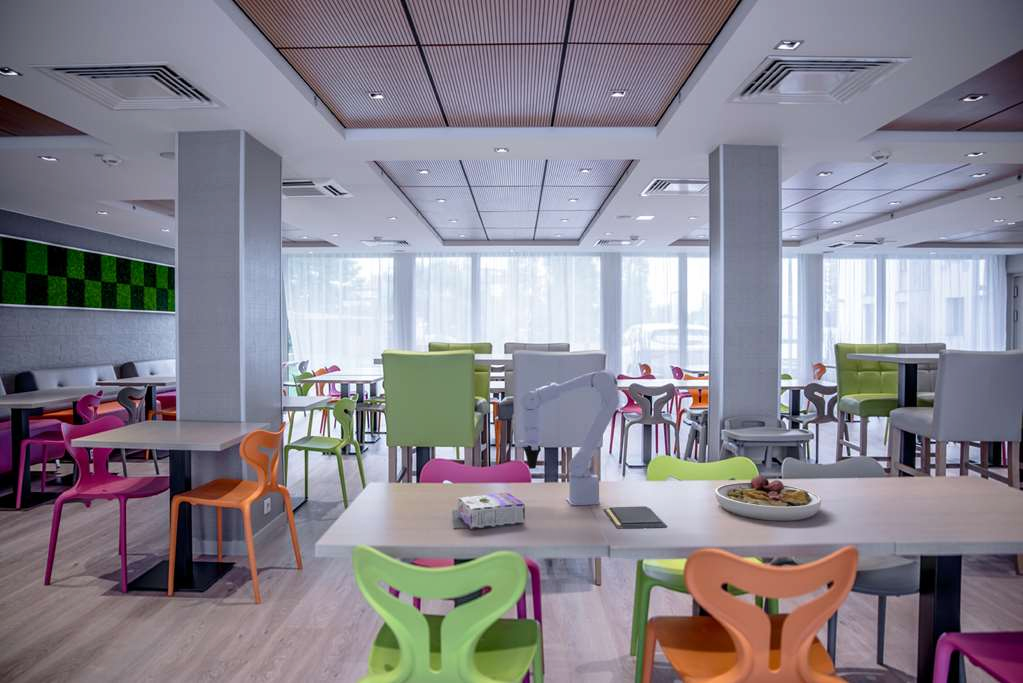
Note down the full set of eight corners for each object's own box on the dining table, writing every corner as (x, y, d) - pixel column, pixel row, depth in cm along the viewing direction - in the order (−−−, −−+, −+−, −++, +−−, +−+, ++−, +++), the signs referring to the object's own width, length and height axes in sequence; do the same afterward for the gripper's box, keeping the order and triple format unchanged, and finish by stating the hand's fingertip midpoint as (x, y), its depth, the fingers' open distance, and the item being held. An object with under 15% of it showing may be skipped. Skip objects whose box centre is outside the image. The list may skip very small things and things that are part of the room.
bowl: (835, 527, 168) (834, 499, 168) (722, 521, 175) (722, 494, 175) (805, 499, 198) (805, 475, 198) (710, 495, 204) (709, 472, 204)
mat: (504, 509, 189) (504, 508, 189) (510, 526, 171) (510, 525, 171) (452, 511, 188) (452, 510, 188) (453, 529, 170) (453, 528, 170)
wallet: (668, 523, 168) (614, 524, 168) (668, 530, 168) (614, 531, 168) (651, 504, 188) (602, 505, 188) (651, 510, 188) (602, 511, 188)
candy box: (508, 510, 186) (457, 516, 181) (508, 491, 186) (457, 496, 181) (525, 523, 173) (470, 530, 168) (525, 503, 173) (470, 509, 168)
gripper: (517, 424, 207) (517, 464, 207) (522, 430, 193) (522, 473, 193) (537, 424, 208) (537, 463, 208) (544, 430, 193) (544, 472, 193)
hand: (532, 468), depth 200 cm, fingers closed
